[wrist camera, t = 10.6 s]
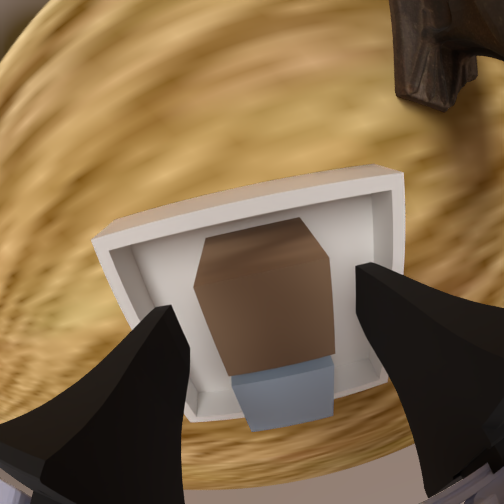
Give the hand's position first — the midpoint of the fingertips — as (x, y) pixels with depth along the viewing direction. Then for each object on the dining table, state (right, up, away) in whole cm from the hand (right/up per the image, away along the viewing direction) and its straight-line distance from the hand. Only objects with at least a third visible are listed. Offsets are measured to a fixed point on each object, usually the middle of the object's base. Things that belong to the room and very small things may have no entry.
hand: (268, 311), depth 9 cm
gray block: (+1, -3, +5) cm, 6 cm away
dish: (0, -1, +5) cm, 5 cm away
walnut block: (0, +1, +3) cm, 3 cm away
